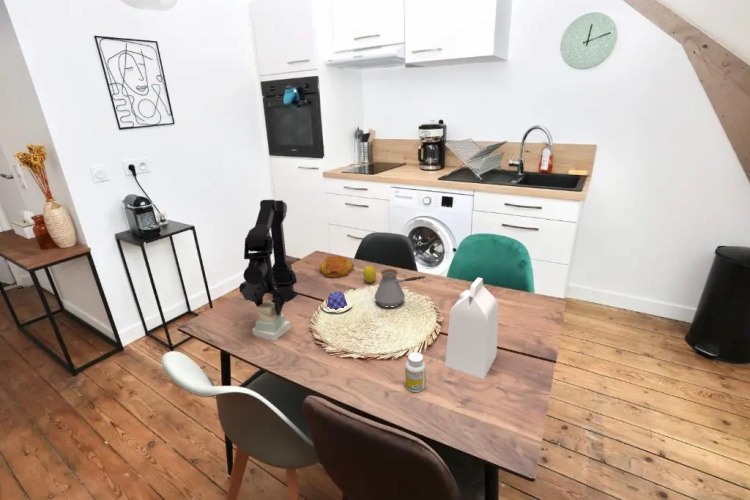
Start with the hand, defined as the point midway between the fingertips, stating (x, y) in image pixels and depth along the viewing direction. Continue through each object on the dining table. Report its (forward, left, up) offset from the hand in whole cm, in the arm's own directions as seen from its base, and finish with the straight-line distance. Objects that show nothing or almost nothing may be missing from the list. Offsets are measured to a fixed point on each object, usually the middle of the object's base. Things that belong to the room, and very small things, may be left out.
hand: (269, 312), depth 129 cm
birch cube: (0, 0, -2) cm, 2 cm away
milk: (-13, +65, -8) cm, 67 cm away
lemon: (-47, +13, -8) cm, 49 cm away
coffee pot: (-34, +33, -8) cm, 48 cm away
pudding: (-24, +11, -8) cm, 28 cm away
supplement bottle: (+4, +54, -8) cm, 55 cm away
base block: (0, 0, -8) cm, 8 cm away
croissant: (-50, -6, -8) cm, 51 cm away
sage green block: (0, 0, -5) cm, 5 cm away
